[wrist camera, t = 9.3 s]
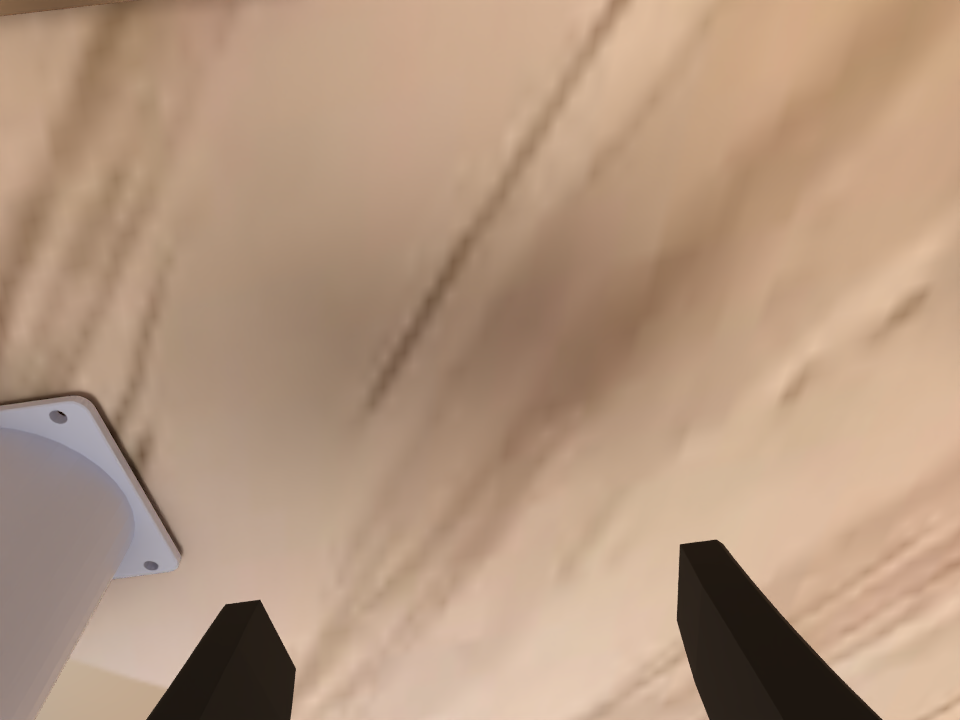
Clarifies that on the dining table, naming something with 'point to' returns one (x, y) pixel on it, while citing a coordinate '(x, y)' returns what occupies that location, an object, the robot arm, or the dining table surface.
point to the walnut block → (46, 5)
